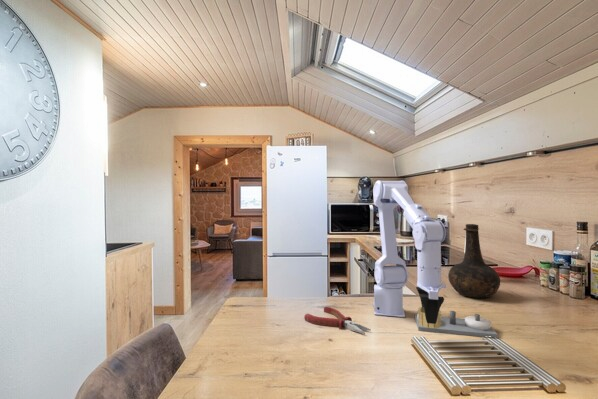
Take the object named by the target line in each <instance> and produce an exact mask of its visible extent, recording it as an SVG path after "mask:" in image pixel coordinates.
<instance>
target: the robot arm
mask: <svg viewBox="0 0 598 399" xmlns="http://www.w3.org/2000/svg"><path fill="white" fill-rule="evenodd" d="M372 193H373V194H372V195H373V202H374V206H375V207H377V209H378V210H377V211H378V218H379V219H378V220H379V221H378V222H379V232H380V242H381V252H382V253H381V254H382V256H380V257H379V259H377V260H376V261H375V263H374V271H373V272H374V275H373V276H374V281H375V282H376V283H377V284H374V286H373V289H374V290H373V301H372V302H373V303H372V304H373V305H372V307H373V308H374V310H373V311H374V312H373V313H374V315H377V316H388V317H398V318H399V317H400V318H405V317H406V314H405V309H404V307H403V305H404V304H403V303H404V301H403V300H404V297H403V296H404V294H403V293H404V292H403V291H404V289H403V287H405V285H406V284H407V283H408V281H409V271H408V269H407V265H406V260H404V259H403V258H401V257H400V256H399V254H398V245H397V244H398V243H397V242H398V241H397V234H396V233H397V232H396V224H395V214H394V210H395V208H396V207H398V206H400V208H401V209H402V210H403V217H404V218H405V220H406V222H408V225H410V228H411V229H412V238H413V240H414V246H415V249H416V250H417V251H416V253H417V254H416V257H417V259H416V260H417V261H416V262H417V264H416V265H417V266H416V267H417V268H416V269H417V270H416V271H417V274H416V275H417V278H416V279H417V282H416V287H415V289H416V290H417V292H418V296H419V300H420V303H421V307H424V311H425V317H426V321H427V323H431V324H436V322H437V318H438V313H439V310H440V309H441V306H442V305H443V303H444V302H445V298H444V296H439V292H440V291H441V290H442V289H446V288H447V284H446V283H442V250H441V249H442V243H443V242H444V241H445V239H446V236H447V230H446V227H445V225H444V223H443V222H442V220H436V219H435V218H434V219H433V218H432V216H431V215H430V214H429V213H428V211H426V209H425V207H423V205H422V204H421V203H415V202H414V200H413V199H412V197H411V195H410V194H409V186H408V184H407V183H406V181H405V180H376V182H375V183H374V186H373V189H372Z"/></svg>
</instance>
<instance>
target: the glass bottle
mask: <svg viewBox="0 0 598 399" xmlns="http://www.w3.org/2000/svg"><path fill="white" fill-rule="evenodd" d="M463 231H465V238H466V245H465V244H464V249H465V253H464V255H463V256H464V257H463V260H462V262H459V263H457V264H454V265H453V266H452V267H451V268H450V269H449V270H448V274H447V275H448V276H447V277H448V281H449V284H450V285H451V287H452V288H453V289H454V290H455V291H456V292H457V293H458V294H459V295H462V296H464V297H468V298H473V299H485V298H489V297H492V296H493V295H495V294H496V293H497V292H498V290H499V288H500V286H501V277H500V275H499V273H498V272H497V271H496V270H495V269H494V268H493V267H491V266H490V265H487V264H486V262H485V260H484V259H483V255H482V250H481V245H480V235H479V225H478V224H474V223H467V224H465V227H464V228H463Z"/></svg>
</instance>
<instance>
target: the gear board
mask: <svg viewBox="0 0 598 399" xmlns="http://www.w3.org/2000/svg"><path fill="white" fill-rule="evenodd" d="M414 320H415V324H416V325H417V330H418V331H421V332H428V333H429V332H431V333H440V334H441V333H442V334H451V335H460V336H461V335H462V336H471V337H483V338H486V337H485V336H491V337H496V338H495V339H499V334H498V333H497V332H496V331H495V329H494V328H492V326H491V325H492V324H491V321H490V320H488V319H487V318H484V317H481V315H480V314H478V313H475V314H474V315H473V316H472V315H469V316H465V317H464V318H460V317H457V312H456V311H455V310H449V317H448V316H441V327H440V328H427V327H423V326H421V325H420V324H419V323H418V314H414Z"/></svg>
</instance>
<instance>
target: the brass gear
mask: <svg viewBox="0 0 598 399" xmlns="http://www.w3.org/2000/svg"><path fill="white" fill-rule="evenodd" d="M417 315H418V323H419V324H420V325H421V326H423V327H427V328H440V327H441V317H442V312H441V310H440V309H439V313H438V318H437V322H436V324H431V323H427V321H426V317H425V311H424V307H422V306H420V307H419V308H417Z"/></svg>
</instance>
